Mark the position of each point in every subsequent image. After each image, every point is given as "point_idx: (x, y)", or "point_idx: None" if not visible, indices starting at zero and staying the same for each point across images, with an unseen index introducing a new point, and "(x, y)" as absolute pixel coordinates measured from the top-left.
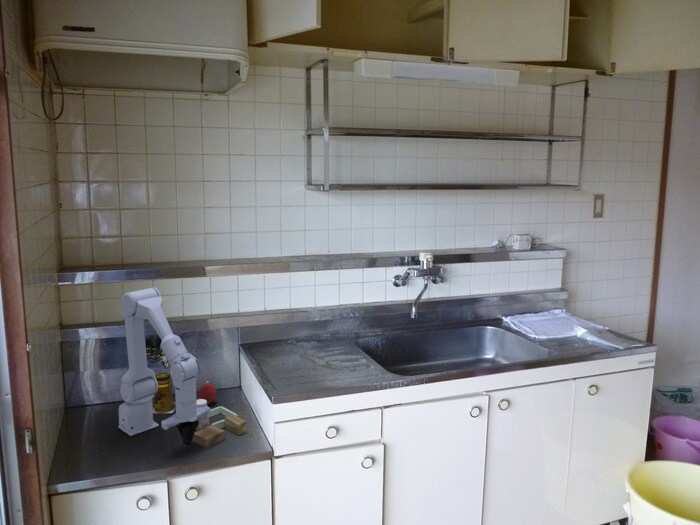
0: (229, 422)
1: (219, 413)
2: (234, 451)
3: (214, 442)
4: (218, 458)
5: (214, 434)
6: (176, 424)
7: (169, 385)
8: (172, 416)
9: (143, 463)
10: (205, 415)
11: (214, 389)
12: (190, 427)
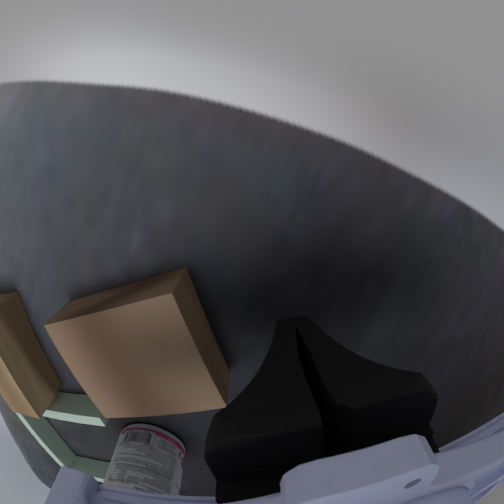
0: (25, 379)
1: (79, 456)
2: (66, 137)
3: (125, 288)
4: (174, 98)
5: (102, 325)
6: (455, 442)
7: None
8: None
9: (488, 291)
10: (120, 474)
11: None
12: (340, 396)
